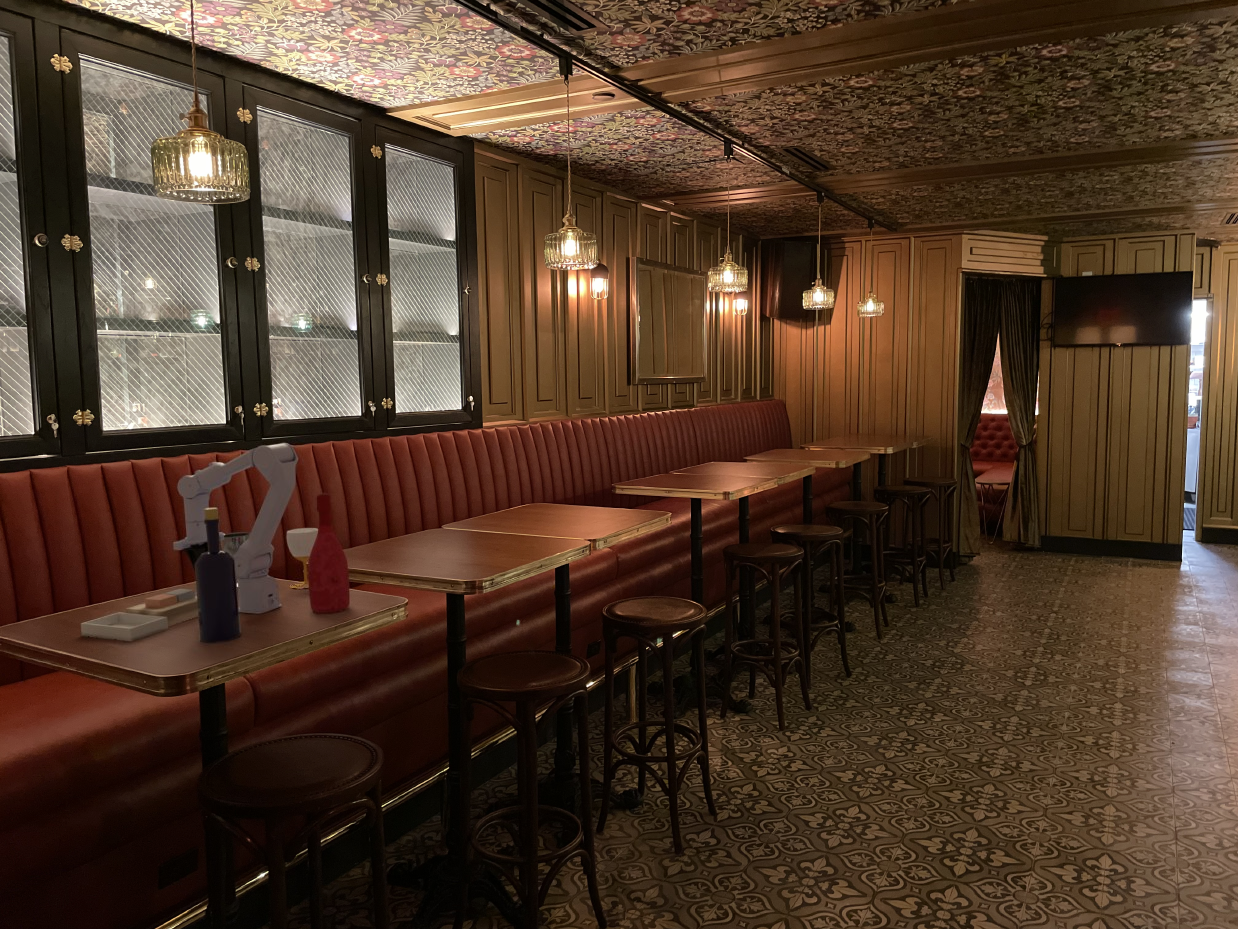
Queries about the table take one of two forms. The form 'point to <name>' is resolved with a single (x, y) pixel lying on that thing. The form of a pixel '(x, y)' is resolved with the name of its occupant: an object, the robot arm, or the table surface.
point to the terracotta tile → (160, 601)
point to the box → (124, 626)
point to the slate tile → (182, 594)
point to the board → (169, 611)
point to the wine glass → (234, 542)
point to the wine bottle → (327, 566)
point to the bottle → (216, 588)
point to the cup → (301, 547)
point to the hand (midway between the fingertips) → (201, 572)
